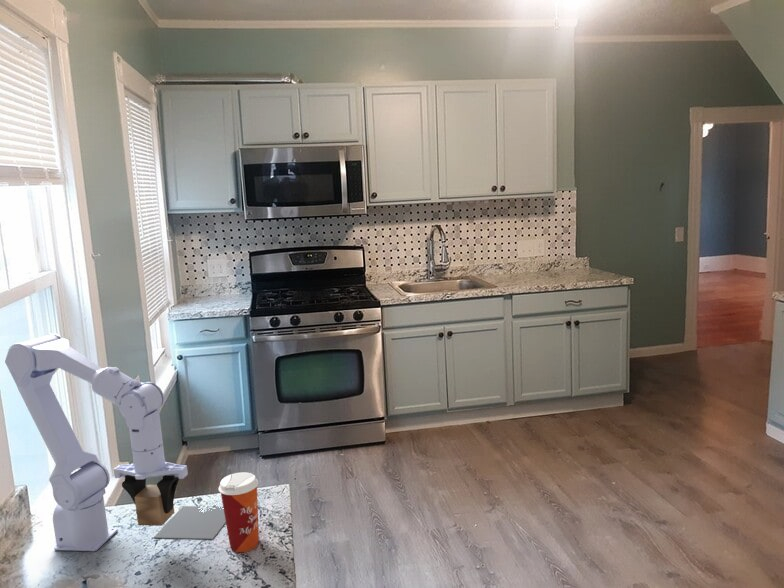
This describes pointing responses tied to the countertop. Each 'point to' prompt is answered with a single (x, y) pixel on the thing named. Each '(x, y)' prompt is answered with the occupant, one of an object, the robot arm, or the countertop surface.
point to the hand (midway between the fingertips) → (155, 510)
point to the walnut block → (151, 507)
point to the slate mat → (193, 524)
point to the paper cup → (241, 510)
